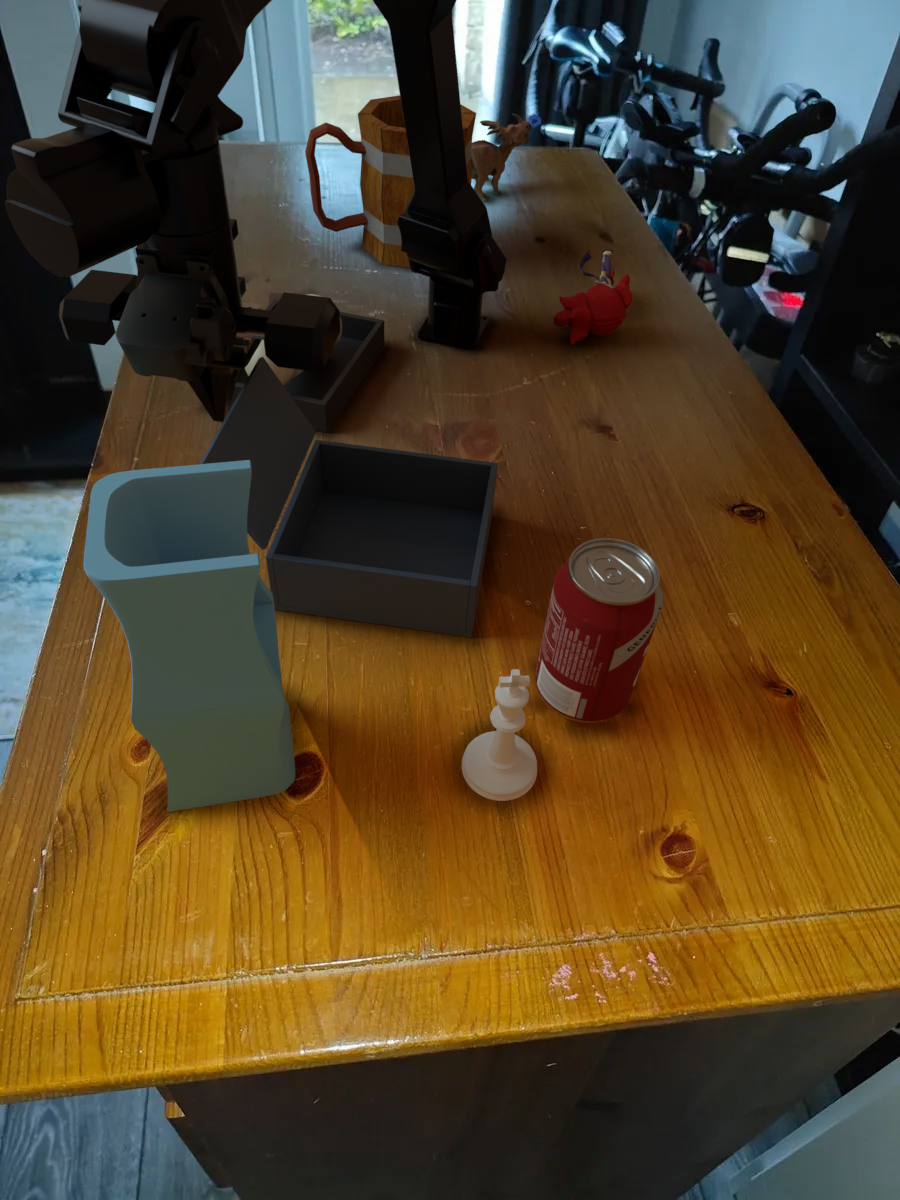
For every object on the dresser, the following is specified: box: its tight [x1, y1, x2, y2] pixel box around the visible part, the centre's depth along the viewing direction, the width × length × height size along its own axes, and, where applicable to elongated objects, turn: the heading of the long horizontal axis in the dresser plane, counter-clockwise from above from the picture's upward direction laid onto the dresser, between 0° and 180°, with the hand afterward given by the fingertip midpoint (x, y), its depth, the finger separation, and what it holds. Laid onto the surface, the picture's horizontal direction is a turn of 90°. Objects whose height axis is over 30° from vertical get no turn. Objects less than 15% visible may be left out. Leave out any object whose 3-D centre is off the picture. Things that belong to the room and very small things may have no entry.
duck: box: [245, 293, 342, 385], centre depth 80 cm, size 8×6×13 cm
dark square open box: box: [265, 439, 499, 638], centre depth 65 cm, size 14×15×6 cm
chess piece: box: [461, 668, 538, 802], centre depth 51 cm, size 5×5×10 cm
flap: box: [199, 357, 317, 551], centre depth 61 cm, size 14×7×1 cm
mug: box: [304, 94, 477, 269], centre depth 100 cm, size 20×14×15 cm
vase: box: [83, 460, 296, 813], centre depth 47 cm, size 8×8×20 cm
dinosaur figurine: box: [471, 113, 533, 202], centre depth 115 cm, size 14×6×9 cm, turn 139°
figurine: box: [553, 249, 634, 345], centre depth 93 cm, size 6×8×15 cm
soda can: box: [534, 537, 664, 724], centre depth 55 cm, size 7×7×12 cm
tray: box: [229, 298, 386, 434], centre depth 84 cm, size 16×12×3 cm
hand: (220, 418), depth 66 cm, fingers closed
